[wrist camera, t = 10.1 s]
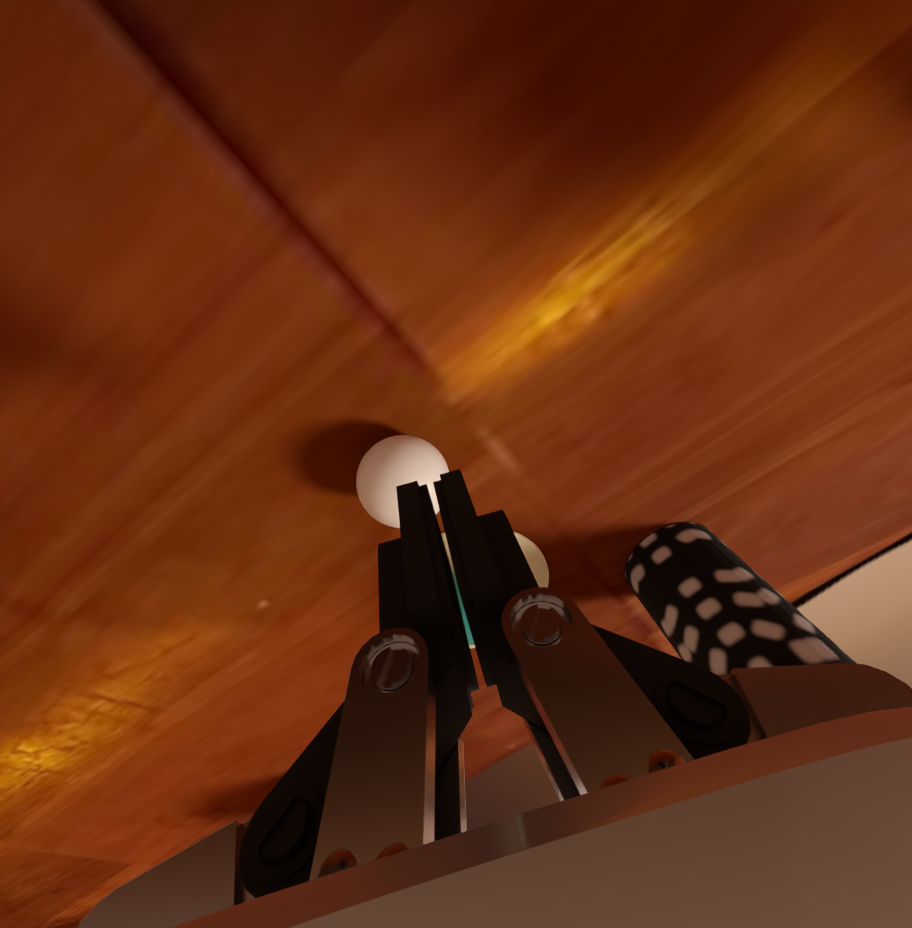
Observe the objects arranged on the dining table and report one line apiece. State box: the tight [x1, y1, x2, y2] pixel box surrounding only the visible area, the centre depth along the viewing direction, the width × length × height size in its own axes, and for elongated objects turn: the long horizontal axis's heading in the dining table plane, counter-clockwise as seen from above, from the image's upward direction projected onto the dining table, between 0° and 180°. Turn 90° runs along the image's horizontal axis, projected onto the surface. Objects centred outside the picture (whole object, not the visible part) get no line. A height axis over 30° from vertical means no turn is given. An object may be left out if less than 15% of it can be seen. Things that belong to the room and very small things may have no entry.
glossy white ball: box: [356, 435, 449, 528], centre depth 24 cm, size 6×6×6 cm
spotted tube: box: [625, 522, 857, 675], centre depth 28 cm, size 8×8×20 cm
